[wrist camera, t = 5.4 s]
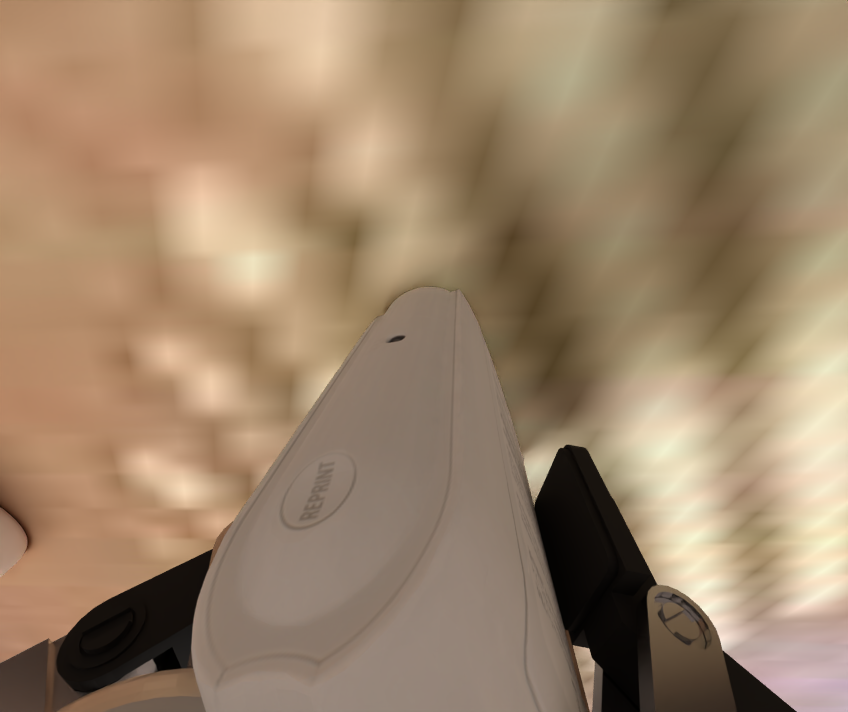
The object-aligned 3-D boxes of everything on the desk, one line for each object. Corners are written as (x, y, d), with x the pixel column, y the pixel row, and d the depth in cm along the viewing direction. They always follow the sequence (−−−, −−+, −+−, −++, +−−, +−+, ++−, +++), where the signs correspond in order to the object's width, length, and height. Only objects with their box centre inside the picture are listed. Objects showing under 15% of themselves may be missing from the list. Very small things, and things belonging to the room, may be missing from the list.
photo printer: (361, 303, 13) (-138, 882, 2) (464, 266, 12) (545, 1013, 1) (446, 481, 17) (428, 1005, 6) (528, 465, 16) (685, 1055, 5)
